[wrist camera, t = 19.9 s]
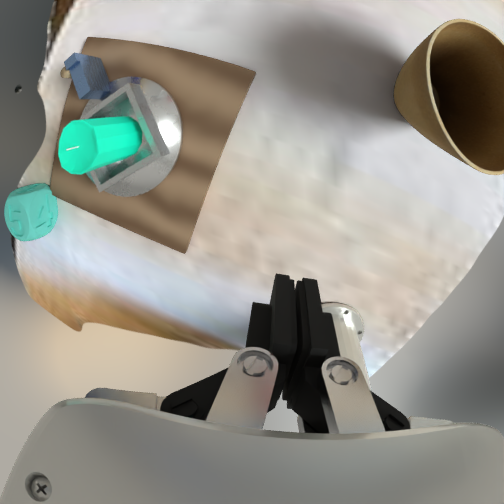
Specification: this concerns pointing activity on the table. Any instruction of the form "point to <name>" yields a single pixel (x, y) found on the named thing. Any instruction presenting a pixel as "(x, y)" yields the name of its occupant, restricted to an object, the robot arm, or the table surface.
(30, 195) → the decorative dice
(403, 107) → the plant pot
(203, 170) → the base
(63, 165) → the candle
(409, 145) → the table surface
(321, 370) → the robot arm
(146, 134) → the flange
